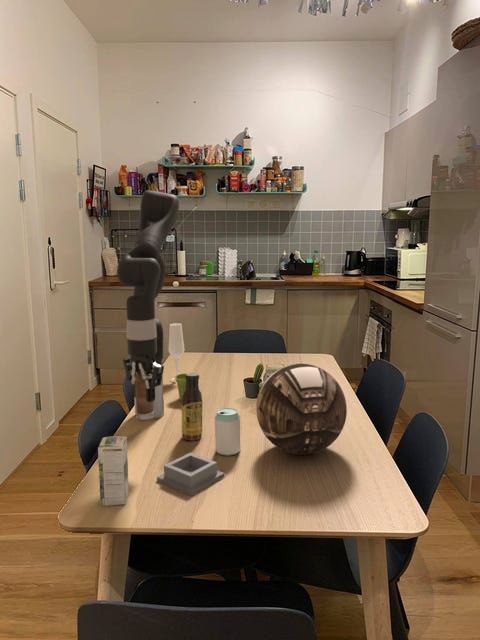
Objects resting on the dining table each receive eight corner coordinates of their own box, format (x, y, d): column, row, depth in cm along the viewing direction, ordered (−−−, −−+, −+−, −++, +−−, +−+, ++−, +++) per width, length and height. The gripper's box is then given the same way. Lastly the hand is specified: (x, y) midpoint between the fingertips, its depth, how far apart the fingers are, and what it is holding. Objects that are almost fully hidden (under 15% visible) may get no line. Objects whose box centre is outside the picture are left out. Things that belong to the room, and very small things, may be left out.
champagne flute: (188, 379, 213) (187, 323, 209) (178, 383, 208) (176, 326, 204) (176, 377, 217) (174, 322, 213) (166, 381, 211) (164, 325, 207)
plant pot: (170, 401, 187) (169, 378, 185) (182, 393, 195) (182, 371, 194) (193, 404, 183) (192, 381, 182) (204, 396, 192) (204, 374, 190)
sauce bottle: (186, 443, 149) (184, 378, 146) (178, 435, 155) (176, 373, 151) (206, 438, 152) (205, 375, 149) (198, 431, 158) (196, 370, 154)
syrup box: (104, 493, 121) (101, 436, 118) (129, 492, 121) (126, 435, 119) (100, 506, 115) (96, 446, 113) (126, 505, 116) (123, 445, 113)
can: (231, 458, 138) (231, 417, 136) (210, 453, 142) (209, 412, 140) (245, 449, 144) (244, 409, 142) (224, 444, 148) (223, 405, 146)
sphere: (327, 430, 157) (329, 352, 153) (360, 466, 133) (362, 374, 129) (249, 436, 153) (248, 356, 149) (267, 475, 129) (267, 380, 125)
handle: (132, 418, 134) (130, 374, 131) (146, 413, 137) (144, 371, 135) (144, 422, 131) (142, 378, 129) (157, 417, 134) (156, 374, 132)
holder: (157, 480, 127) (156, 465, 126) (190, 463, 136) (190, 449, 135) (191, 495, 119) (190, 480, 119) (224, 476, 128) (224, 461, 128)
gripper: (171, 337, 128) (173, 401, 131) (135, 330, 137) (138, 390, 140) (148, 342, 123) (151, 409, 126) (112, 334, 132) (116, 397, 135)
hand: (144, 398), depth 133 cm, fingers closed on handle, 4 cm apart
